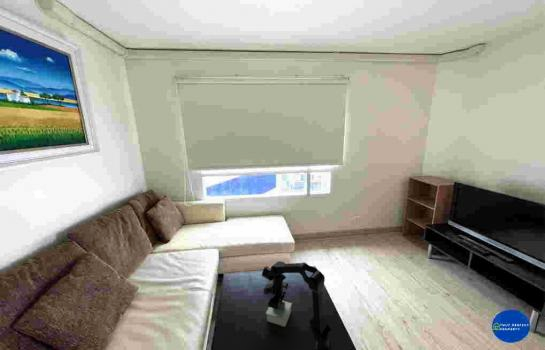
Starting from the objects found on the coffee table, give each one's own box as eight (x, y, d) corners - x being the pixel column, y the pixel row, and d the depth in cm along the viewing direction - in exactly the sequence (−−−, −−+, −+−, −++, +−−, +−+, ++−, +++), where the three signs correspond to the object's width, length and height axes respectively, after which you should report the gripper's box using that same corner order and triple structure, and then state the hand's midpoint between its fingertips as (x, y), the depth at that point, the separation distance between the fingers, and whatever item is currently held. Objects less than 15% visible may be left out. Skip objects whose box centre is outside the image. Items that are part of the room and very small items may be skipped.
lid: (285, 322, 119) (285, 313, 118) (265, 315, 123) (265, 307, 122) (291, 305, 130) (291, 297, 128) (273, 300, 134) (273, 292, 133)
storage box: (285, 327, 120) (284, 319, 119) (267, 321, 124) (266, 313, 123) (290, 311, 130) (290, 304, 129) (274, 306, 134) (274, 300, 133)
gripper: (271, 270, 134) (272, 292, 137) (258, 291, 117) (259, 315, 121) (288, 274, 130) (288, 296, 133) (277, 296, 113) (278, 321, 116)
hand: (279, 306), depth 126 cm, fingers closed on lid, 2 cm apart
